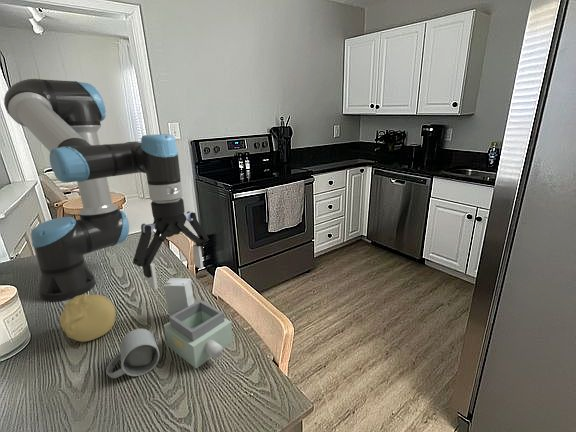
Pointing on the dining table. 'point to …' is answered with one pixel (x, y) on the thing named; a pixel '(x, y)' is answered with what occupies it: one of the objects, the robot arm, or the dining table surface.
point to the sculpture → (87, 317)
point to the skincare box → (178, 294)
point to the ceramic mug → (135, 354)
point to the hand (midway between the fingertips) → (177, 276)
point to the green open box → (198, 333)
